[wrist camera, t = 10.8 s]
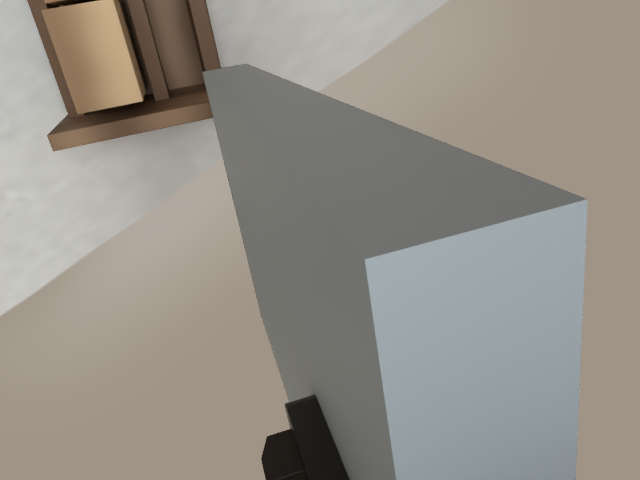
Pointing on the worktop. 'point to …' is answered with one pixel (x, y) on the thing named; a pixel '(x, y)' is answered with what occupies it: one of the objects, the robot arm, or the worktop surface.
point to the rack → (159, 68)
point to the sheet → (407, 285)
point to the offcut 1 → (67, 2)
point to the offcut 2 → (97, 54)
